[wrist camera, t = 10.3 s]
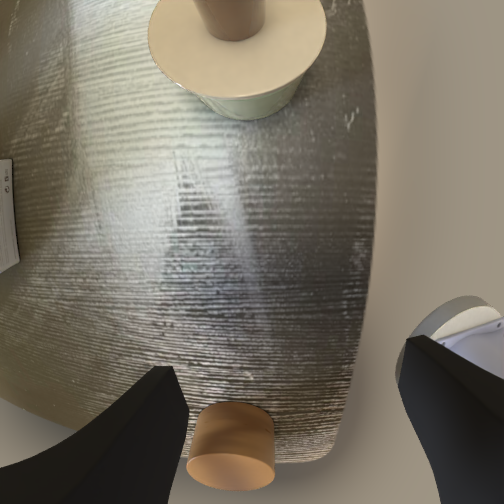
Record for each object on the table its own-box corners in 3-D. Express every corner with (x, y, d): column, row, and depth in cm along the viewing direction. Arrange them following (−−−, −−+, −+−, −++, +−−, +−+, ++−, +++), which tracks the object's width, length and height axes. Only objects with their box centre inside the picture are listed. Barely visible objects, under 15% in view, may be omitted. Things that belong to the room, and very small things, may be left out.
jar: (290, 23, 13) (302, -35, 7) (308, 114, 15) (334, 87, 9) (188, 38, 14) (154, -12, 8) (200, 129, 16) (164, 111, 9)
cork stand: (269, 398, 21) (270, 452, 16) (277, 443, 23) (278, 490, 18) (188, 401, 22) (174, 451, 17) (207, 445, 24) (199, 490, 19)
